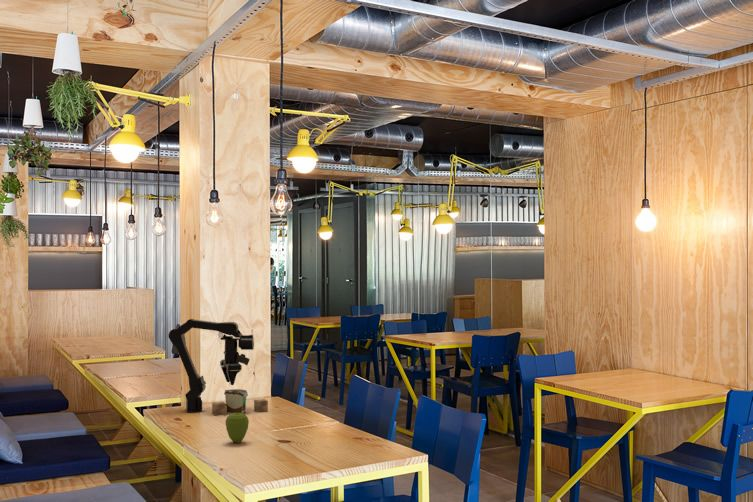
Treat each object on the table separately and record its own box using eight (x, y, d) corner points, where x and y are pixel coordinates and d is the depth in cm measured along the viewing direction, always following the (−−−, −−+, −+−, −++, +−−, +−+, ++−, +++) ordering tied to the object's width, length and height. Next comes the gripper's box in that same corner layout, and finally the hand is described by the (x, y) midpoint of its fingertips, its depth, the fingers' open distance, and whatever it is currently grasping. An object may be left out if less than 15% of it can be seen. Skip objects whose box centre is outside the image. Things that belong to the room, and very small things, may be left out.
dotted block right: (257, 412, 325) (257, 401, 325) (254, 410, 329) (254, 399, 329) (267, 411, 327) (267, 400, 327) (264, 409, 331) (264, 398, 332)
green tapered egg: (223, 440, 270) (223, 410, 271) (245, 439, 273) (246, 408, 274) (227, 446, 262) (227, 414, 263) (250, 444, 265) (250, 412, 266)
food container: (253, 412, 324) (253, 390, 324) (244, 415, 319) (244, 392, 319) (233, 410, 331) (233, 388, 331) (224, 412, 325) (224, 390, 326)
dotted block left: (214, 415, 318) (214, 404, 318) (212, 413, 322) (212, 402, 322) (225, 414, 320) (225, 403, 320) (223, 413, 324) (223, 401, 324)
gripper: (253, 351, 324) (252, 385, 324) (243, 347, 341) (242, 379, 341) (228, 351, 320) (227, 387, 319) (220, 347, 337) (219, 380, 336)
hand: (230, 383), depth 329 cm, fingers open, 9 cm apart
